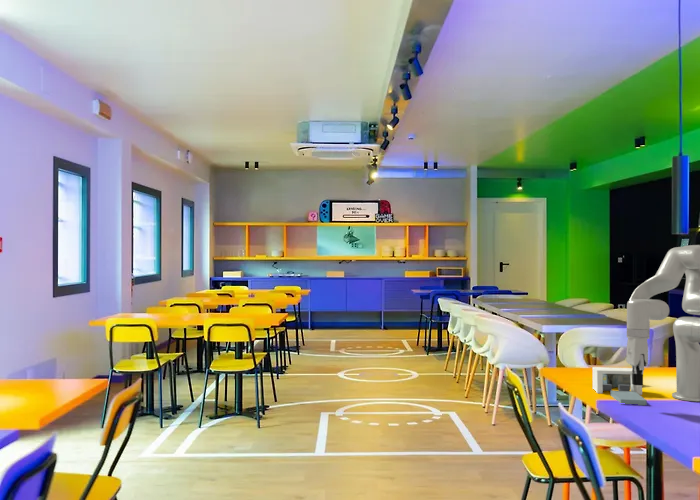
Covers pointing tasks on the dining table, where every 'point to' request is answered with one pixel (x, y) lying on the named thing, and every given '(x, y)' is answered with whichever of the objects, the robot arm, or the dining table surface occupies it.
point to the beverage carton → (617, 379)
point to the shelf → (601, 387)
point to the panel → (628, 397)
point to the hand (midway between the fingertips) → (637, 384)
